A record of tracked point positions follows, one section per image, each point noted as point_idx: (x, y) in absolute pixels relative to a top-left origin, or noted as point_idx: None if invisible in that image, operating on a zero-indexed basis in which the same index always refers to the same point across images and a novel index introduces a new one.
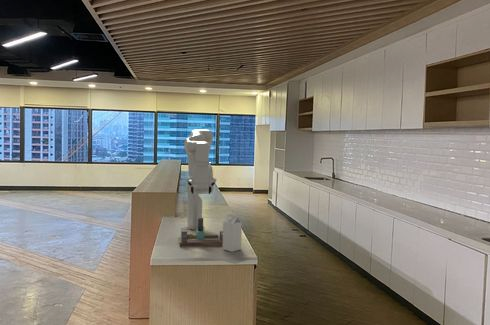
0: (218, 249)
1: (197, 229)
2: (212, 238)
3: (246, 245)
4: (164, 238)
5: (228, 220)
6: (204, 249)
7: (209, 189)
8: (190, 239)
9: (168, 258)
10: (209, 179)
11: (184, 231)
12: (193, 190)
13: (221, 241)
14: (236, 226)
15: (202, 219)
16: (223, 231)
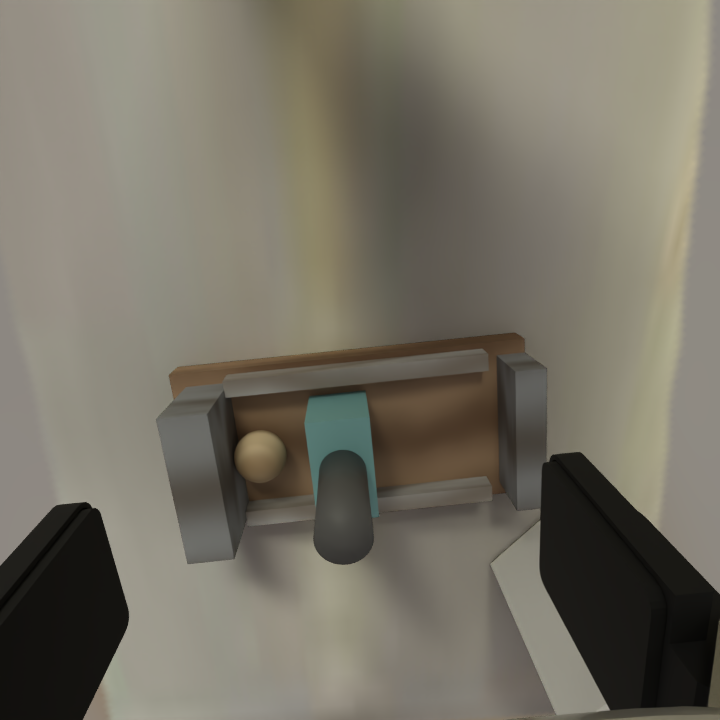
0: (464, 560)
1: (313, 429)
2: (437, 386)
3: (663, 459)
4: (38, 284)
5: None
6: (375, 565)
7: (609, 688)
8: (271, 513)
9: None
10: None
11: (210, 560)
12: (88, 704)
13: (499, 477)
14: None
15: (363, 550)
16: (536, 663)
